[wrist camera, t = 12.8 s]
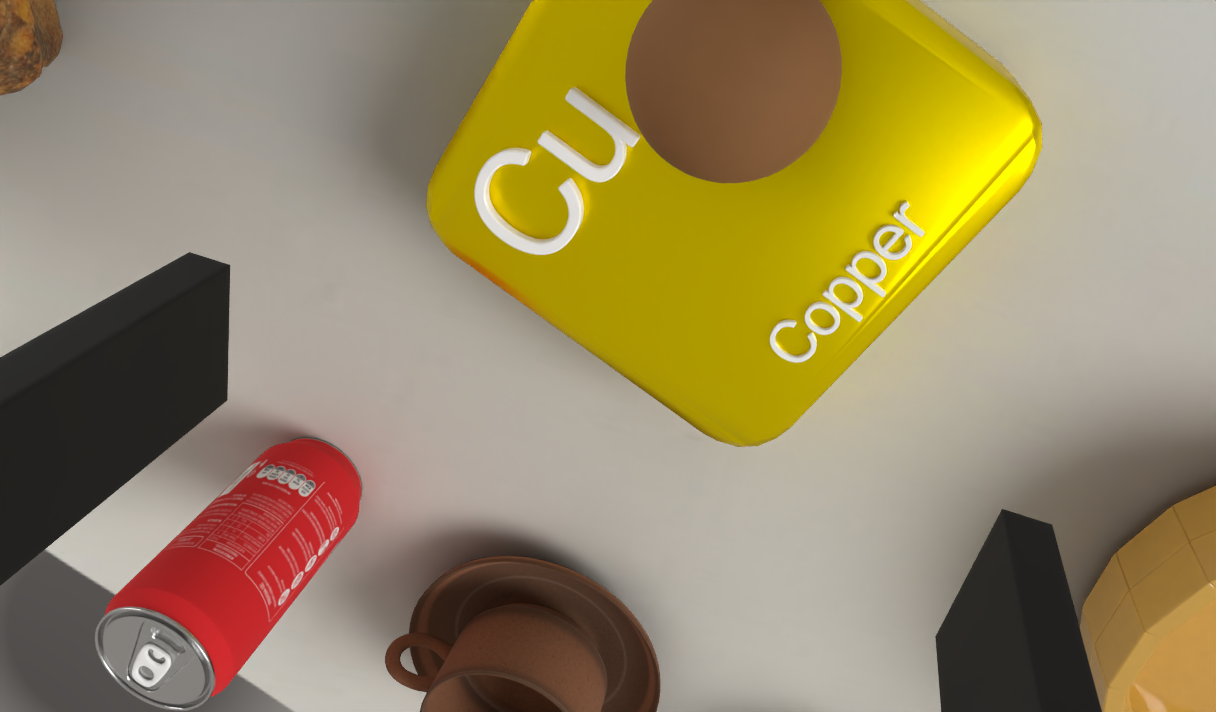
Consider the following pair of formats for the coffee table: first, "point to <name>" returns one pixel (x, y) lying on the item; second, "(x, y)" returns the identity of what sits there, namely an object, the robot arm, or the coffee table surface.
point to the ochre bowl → (1158, 615)
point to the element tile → (730, 208)
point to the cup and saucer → (525, 643)
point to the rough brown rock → (27, 41)
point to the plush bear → (733, 83)
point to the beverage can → (229, 576)
